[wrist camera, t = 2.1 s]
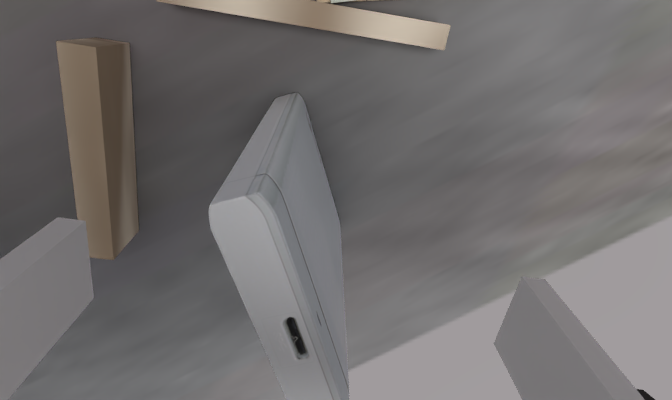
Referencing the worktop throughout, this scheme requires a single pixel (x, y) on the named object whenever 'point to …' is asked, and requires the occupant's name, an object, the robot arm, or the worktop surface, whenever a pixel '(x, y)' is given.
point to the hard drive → (287, 252)
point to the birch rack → (117, 107)
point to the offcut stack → (339, 0)
